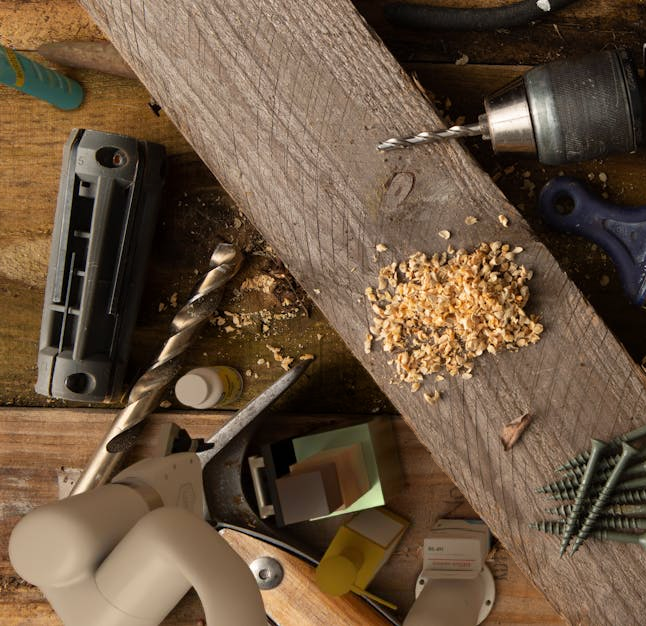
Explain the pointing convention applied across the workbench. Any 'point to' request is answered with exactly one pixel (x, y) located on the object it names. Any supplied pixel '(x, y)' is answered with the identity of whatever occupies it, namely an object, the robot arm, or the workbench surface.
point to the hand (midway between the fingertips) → (204, 484)
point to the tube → (38, 80)
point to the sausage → (88, 56)
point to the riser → (343, 470)
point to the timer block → (309, 493)
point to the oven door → (273, 474)
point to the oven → (375, 449)
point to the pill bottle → (209, 387)
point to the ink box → (456, 549)
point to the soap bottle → (360, 552)
